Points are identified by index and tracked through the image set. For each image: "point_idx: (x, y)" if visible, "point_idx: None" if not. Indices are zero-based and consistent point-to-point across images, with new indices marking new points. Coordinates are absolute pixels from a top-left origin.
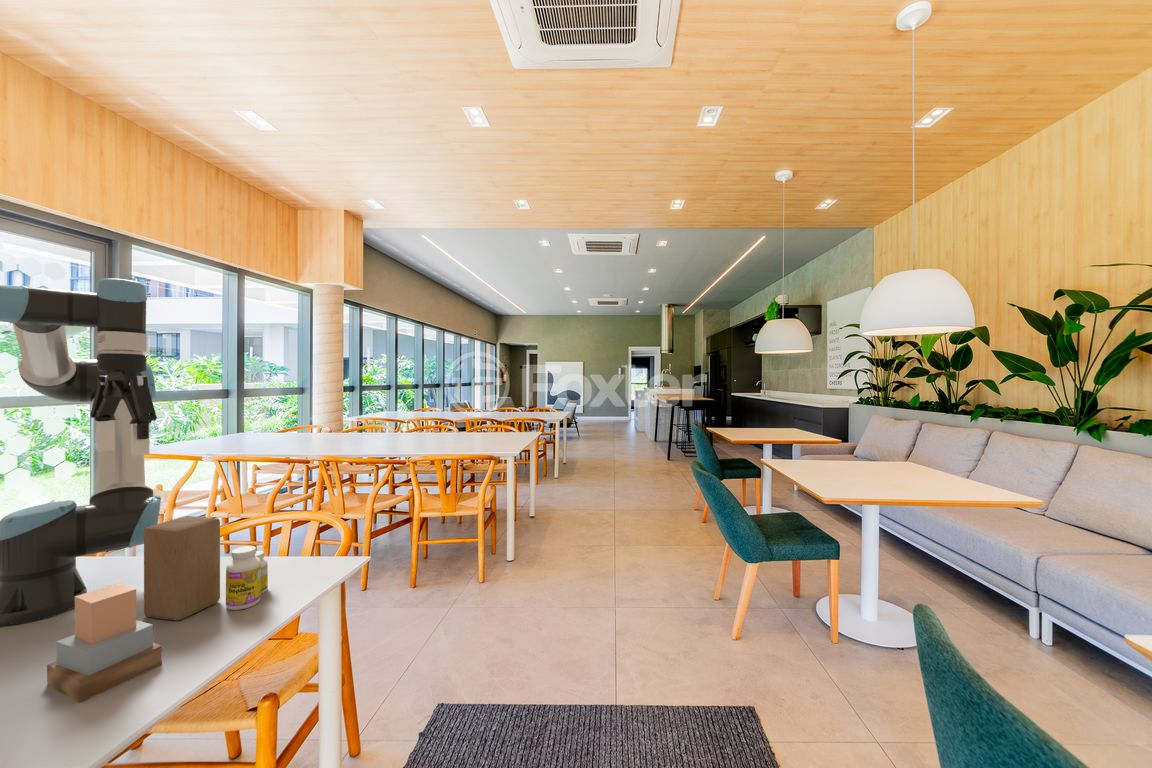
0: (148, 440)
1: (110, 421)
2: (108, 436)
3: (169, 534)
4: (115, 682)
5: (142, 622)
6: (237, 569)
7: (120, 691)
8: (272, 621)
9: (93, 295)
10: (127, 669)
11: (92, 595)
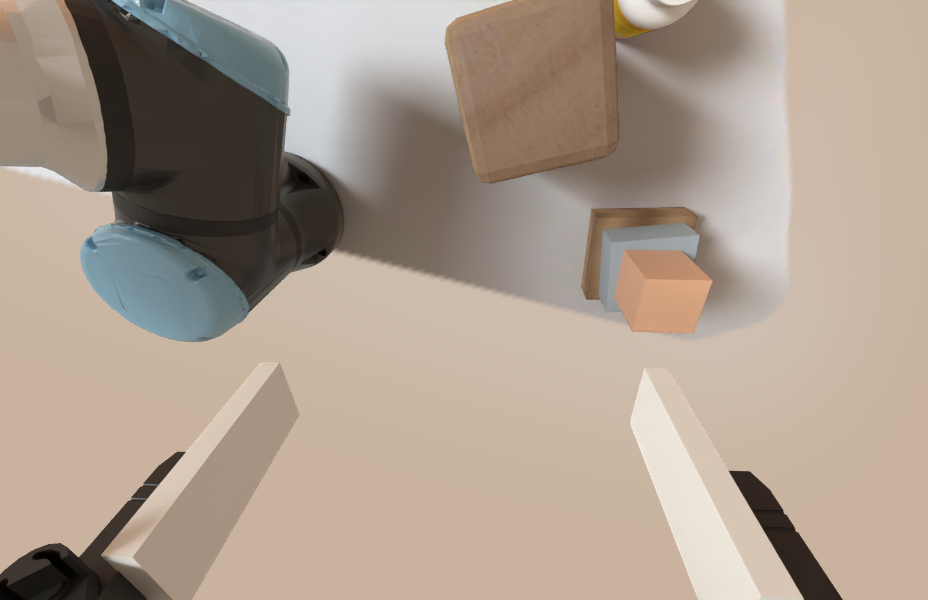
0: (707, 442)
1: (153, 568)
2: (241, 455)
3: (585, 161)
4: None
5: (673, 238)
6: (683, 15)
7: None
8: (769, 19)
9: None
10: None
11: (658, 319)
